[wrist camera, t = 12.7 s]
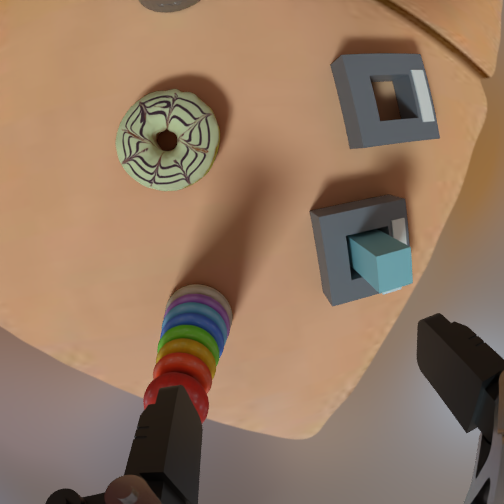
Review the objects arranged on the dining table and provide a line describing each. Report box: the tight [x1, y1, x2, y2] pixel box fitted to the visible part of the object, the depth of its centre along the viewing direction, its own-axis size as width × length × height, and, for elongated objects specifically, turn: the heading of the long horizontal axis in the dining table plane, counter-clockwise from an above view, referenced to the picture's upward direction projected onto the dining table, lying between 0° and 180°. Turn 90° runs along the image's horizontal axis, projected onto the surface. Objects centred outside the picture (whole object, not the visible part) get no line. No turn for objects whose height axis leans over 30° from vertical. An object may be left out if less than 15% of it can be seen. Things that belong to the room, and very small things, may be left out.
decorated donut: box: [116, 89, 220, 191], centre depth 31 cm, size 10×11×4 cm
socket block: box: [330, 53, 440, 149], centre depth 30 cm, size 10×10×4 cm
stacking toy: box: [144, 284, 232, 423], centre depth 29 cm, size 8×8×19 cm
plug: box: [346, 229, 413, 295], centre depth 32 cm, size 4×4×10 cm
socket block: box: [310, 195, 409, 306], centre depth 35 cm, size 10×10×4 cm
